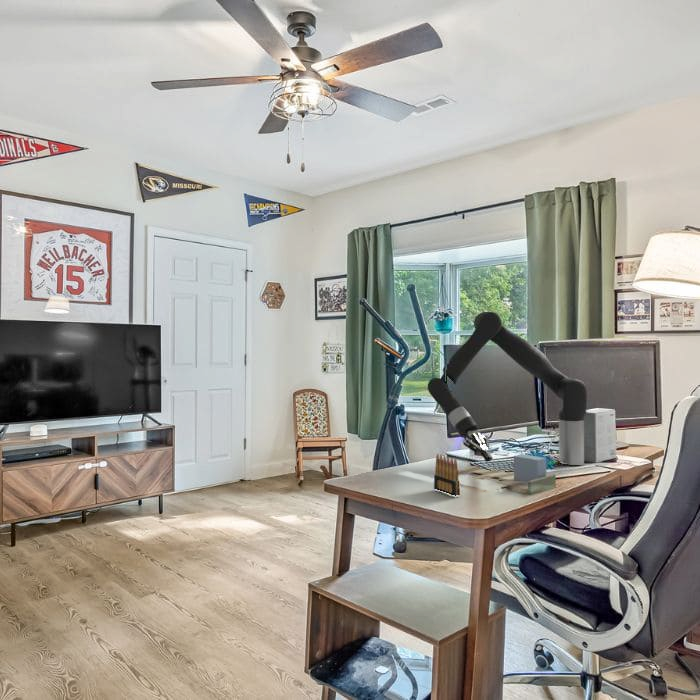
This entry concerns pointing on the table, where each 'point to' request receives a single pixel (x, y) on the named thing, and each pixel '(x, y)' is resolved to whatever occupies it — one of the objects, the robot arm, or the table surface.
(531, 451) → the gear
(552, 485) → the trap board
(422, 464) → the table surface
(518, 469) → the slate block
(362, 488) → the table surface
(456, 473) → the ammunition clip
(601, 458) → the hard drive box
